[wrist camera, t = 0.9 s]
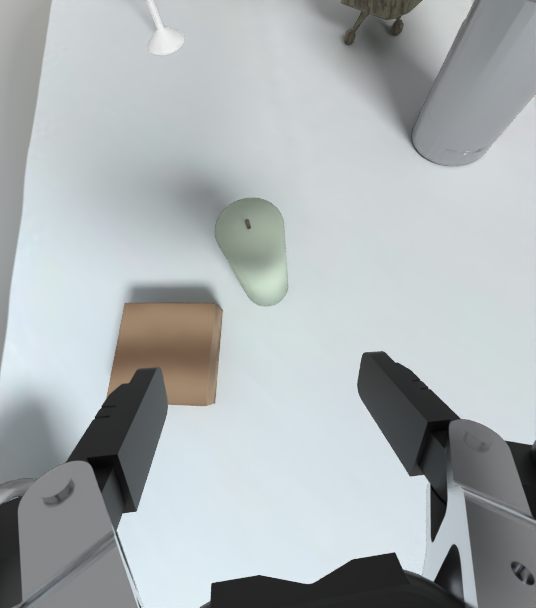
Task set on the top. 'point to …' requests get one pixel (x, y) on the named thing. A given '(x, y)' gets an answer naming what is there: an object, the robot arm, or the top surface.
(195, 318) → the walnut block
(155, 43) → the champagne flute
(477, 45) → the robot arm
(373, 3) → the tabletop clock
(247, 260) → the candle
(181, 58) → the top surface
